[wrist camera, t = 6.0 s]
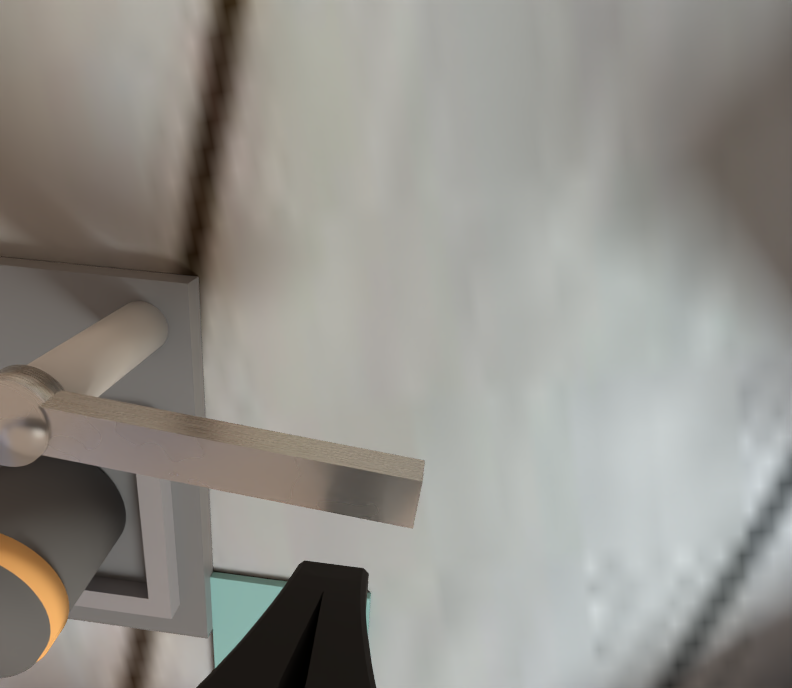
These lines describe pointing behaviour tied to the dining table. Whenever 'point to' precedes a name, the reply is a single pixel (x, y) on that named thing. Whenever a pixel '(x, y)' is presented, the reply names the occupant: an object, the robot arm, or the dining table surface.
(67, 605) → the plug
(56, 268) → the socket
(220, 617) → the mat
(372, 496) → the brushed metal lever
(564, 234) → the dining table surface
